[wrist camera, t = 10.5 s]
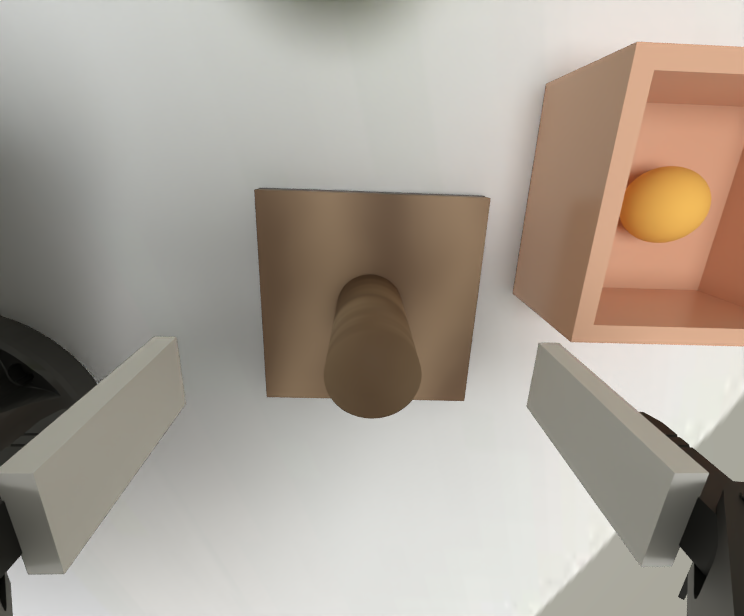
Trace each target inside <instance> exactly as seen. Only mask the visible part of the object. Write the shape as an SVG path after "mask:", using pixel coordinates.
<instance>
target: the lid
mask: <svg viewBox="0 0 744 616" xmlns="http://www.w3.org/2000/svg"><path fill="white" fill-rule="evenodd" d="M254 192H255V209H256V225H257V242H258V259H259V275H260V292H261V309H262V325H263V342H264V359H265V375H266V392H267V397H292V398H331V399H332V400H333V402H334V403H335V404H336V405H337V406H339V407H340V408H341V409H342V410H344V411H346V412H347V413H350V414H352V415H355V416H358V417H362V418H382V417H386V416H390V415H392V414H395V413H397V412H399V411H400V410H402V409H403V408H405V407H406V406H407V405H408V404H409V403H410V402H411V401H412V400H444V401H464V398H465V390H466V383H467V375H468V367H469V359H470V352H471V344H472V336H473V329H474V321H475V313H476V306H477V298H478V290H479V283H480V275H481V267H482V260H483V252H484V244H485V237H486V229H487V221H488V213H489V206H490V198H487V197H472V196H444V195H417V194H389V193H361V192H333V191H305V190H278V189H256V190H254Z"/></svg>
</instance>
